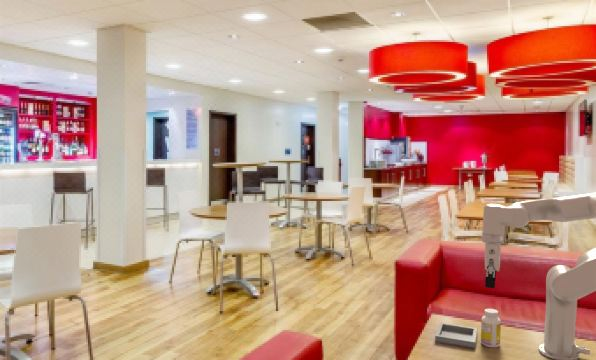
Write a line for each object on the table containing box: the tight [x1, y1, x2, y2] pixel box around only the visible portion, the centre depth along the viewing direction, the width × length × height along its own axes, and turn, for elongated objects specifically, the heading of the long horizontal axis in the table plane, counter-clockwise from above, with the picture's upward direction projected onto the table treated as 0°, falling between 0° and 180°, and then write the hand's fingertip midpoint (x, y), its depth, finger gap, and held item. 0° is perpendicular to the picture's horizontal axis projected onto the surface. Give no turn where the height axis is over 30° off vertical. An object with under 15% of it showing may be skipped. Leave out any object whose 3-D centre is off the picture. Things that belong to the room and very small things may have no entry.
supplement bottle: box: [480, 308, 502, 348], centre depth 178 cm, size 7×7×13 cm
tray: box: [434, 322, 478, 350], centre depth 184 cm, size 14×14×2 cm
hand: (490, 283), depth 177 cm, fingers open, 9 cm apart
